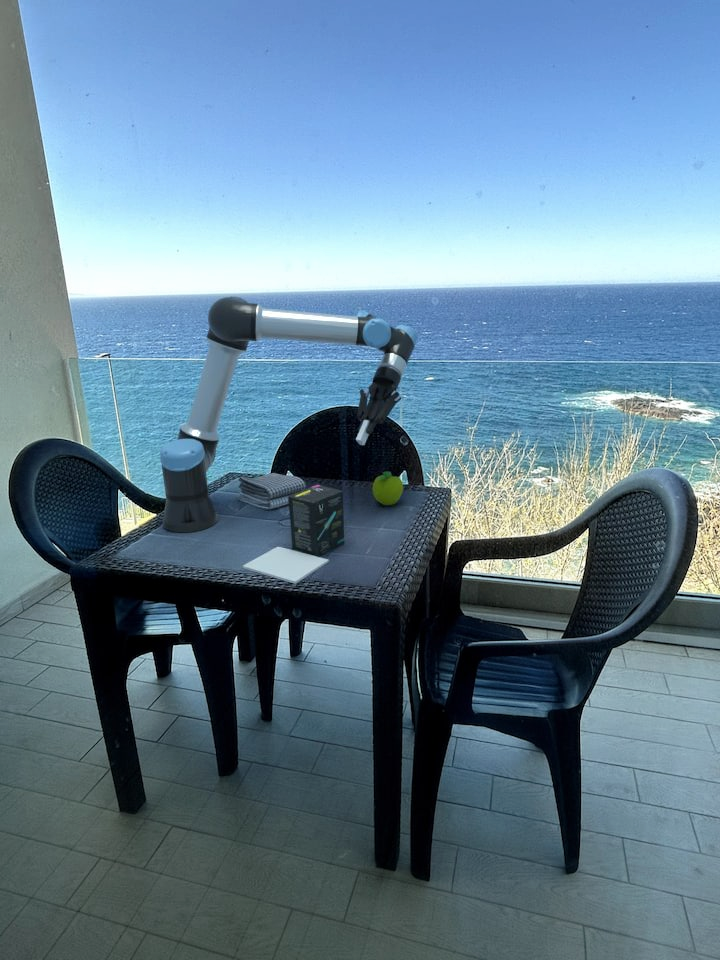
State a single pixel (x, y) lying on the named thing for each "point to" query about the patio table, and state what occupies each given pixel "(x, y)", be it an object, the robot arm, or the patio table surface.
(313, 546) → the tampon box
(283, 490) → the towel
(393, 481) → the fruit
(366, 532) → the patio table surface
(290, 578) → the mat
